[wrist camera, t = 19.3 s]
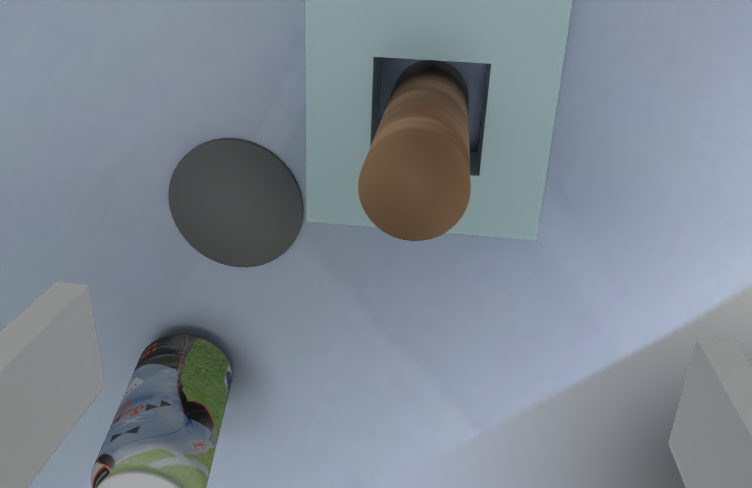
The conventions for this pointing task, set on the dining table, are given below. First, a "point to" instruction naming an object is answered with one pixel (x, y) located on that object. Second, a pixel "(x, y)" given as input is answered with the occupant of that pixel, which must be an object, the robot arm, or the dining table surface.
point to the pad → (235, 202)
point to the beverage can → (167, 418)
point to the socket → (441, 43)
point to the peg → (420, 155)
